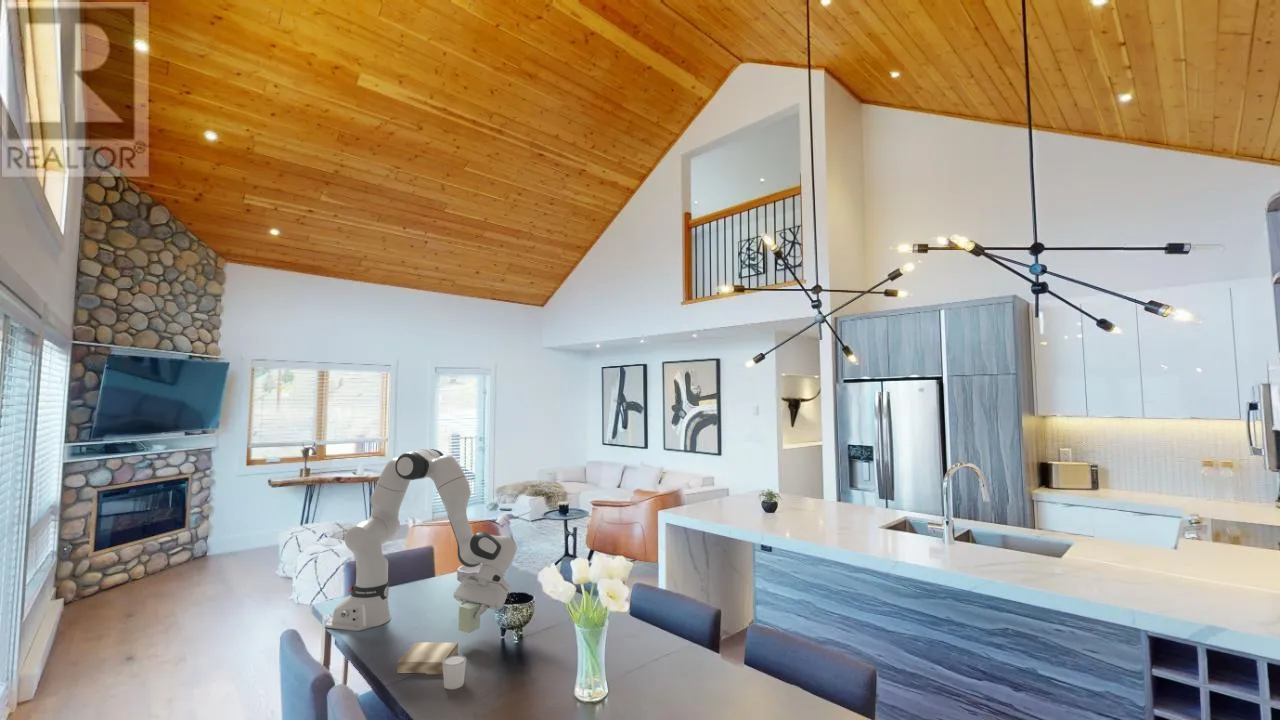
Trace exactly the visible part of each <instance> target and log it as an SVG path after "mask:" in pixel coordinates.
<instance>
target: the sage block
mask: <svg viewBox="0 0 1280 720" xmlns="http://www.w3.org/2000/svg"><path fill="white" fill-rule="evenodd" d="M458 608H459V609H458V630H457V631H460V632H464V633H467V634H470V633H472V632H474V631H476V630H478V629H480V628H481V616H480V617H479V619H475V618H474V617H473V615H474V613H475V612H477V611H478V610H479V609H481V606H480V604H477V603H473V602H468V603H466V604H463V605H461V604H460V605H459V606H458Z"/></svg>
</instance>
